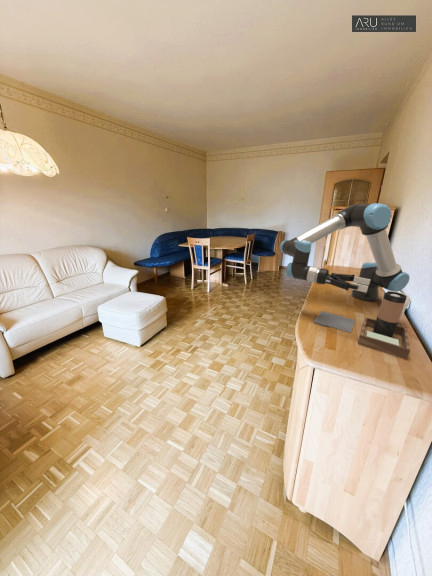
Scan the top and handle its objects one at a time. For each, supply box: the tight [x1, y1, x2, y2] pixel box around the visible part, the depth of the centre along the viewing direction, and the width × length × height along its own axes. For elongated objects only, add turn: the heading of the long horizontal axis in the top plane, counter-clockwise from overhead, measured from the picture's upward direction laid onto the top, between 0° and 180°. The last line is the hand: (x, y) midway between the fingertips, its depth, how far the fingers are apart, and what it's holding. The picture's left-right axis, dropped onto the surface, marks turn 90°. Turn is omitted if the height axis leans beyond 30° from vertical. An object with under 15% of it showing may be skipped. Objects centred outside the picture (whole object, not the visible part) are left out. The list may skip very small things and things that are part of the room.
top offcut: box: [365, 330, 400, 346], centre depth 93 cm, size 8×11×1 cm
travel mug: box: [372, 290, 407, 338], centre depth 98 cm, size 8×8×20 cm
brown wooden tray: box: [357, 316, 411, 360], centre depth 97 cm, size 22×16×4 cm
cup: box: [381, 290, 411, 313], centre depth 113 cm, size 11×11×15 cm
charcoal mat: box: [313, 310, 356, 334], centre depth 112 cm, size 16×16×1 cm
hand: (368, 285), depth 100 cm, fingers open, 13 cm apart
